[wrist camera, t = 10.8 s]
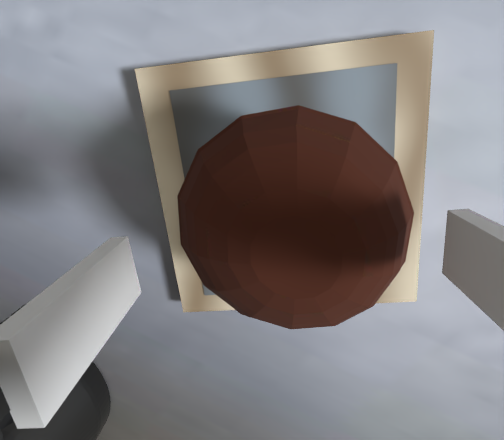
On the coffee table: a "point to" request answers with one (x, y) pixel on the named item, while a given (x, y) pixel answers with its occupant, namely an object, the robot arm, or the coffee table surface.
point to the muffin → (295, 217)
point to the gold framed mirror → (286, 95)
